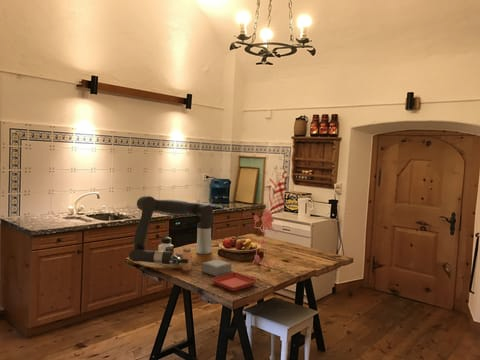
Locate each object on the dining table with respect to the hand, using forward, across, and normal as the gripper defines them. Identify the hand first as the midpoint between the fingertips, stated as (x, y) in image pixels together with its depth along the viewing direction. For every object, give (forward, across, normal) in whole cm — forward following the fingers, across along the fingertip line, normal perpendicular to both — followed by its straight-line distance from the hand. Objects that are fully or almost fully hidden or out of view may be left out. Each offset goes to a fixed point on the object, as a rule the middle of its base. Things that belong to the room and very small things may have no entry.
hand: (189, 259), depth 236 cm
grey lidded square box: (+16, 0, +6) cm, 17 cm away
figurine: (+44, +20, +6) cm, 48 cm away
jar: (-2, 0, +6) cm, 6 cm away
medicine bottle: (-22, +24, +6) cm, 33 cm away
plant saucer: (+29, -19, +7) cm, 35 cm away
